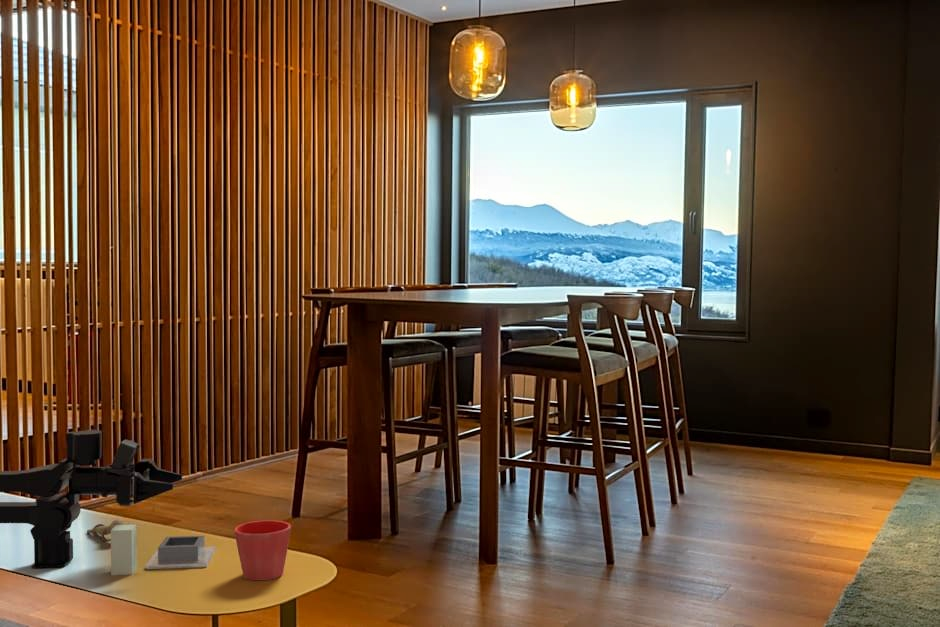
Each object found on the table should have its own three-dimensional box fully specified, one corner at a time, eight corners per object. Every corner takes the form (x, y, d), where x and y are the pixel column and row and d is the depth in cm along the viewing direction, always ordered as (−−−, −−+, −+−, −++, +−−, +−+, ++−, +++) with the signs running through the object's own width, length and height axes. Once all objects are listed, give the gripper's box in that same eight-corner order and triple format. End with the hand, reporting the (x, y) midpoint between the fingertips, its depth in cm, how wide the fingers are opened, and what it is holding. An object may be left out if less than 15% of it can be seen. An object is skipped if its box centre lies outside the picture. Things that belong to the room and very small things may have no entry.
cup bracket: (145, 569, 189) (145, 550, 189) (158, 551, 201) (158, 534, 200) (206, 567, 190) (206, 548, 190) (215, 549, 202) (215, 532, 202)
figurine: (84, 543, 214) (115, 541, 204) (82, 523, 215) (112, 520, 205) (100, 540, 217) (131, 537, 207) (98, 520, 217) (128, 517, 208)
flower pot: (235, 568, 189) (234, 521, 189) (289, 564, 192) (289, 518, 192) (234, 585, 179) (234, 535, 179) (292, 581, 182) (291, 532, 181)
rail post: (111, 575, 185) (110, 530, 185) (116, 568, 189) (115, 525, 189) (132, 574, 185) (131, 529, 185) (136, 568, 189) (136, 524, 189)
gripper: (87, 450, 183) (169, 451, 185) (113, 434, 202) (187, 436, 203) (86, 506, 183) (167, 507, 185) (112, 485, 202) (185, 486, 204)
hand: (177, 481), depth 194 cm, fingers open, 9 cm apart
